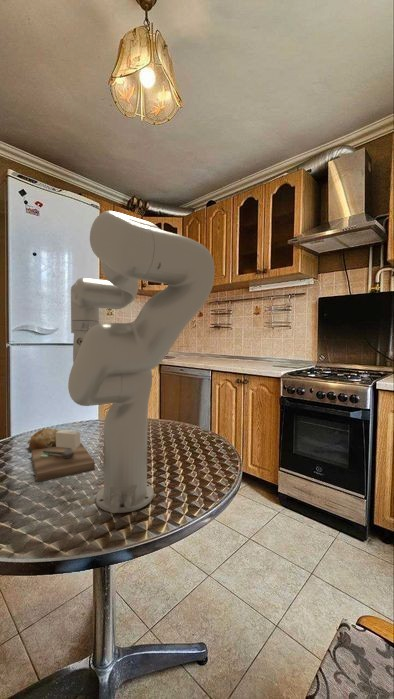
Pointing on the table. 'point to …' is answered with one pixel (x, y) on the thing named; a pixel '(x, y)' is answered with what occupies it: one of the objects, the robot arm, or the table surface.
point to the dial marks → (48, 454)
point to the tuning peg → (66, 442)
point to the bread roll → (43, 439)
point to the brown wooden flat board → (61, 463)
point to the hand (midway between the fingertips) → (85, 388)
